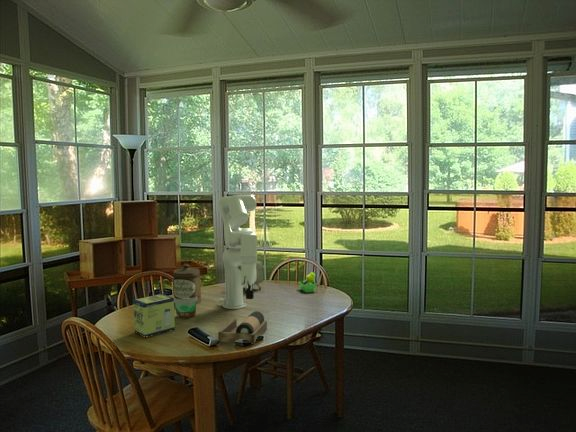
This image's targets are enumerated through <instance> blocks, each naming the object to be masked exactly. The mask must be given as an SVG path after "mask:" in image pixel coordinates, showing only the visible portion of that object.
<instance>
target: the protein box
mask: <svg viewBox="0 0 576 432" xmlns="http://www.w3.org/2000/svg"><path fill="white" fill-rule="evenodd" d="M132 306H133V307H132V308H133V310H132V311H133V328H134V331H135V332H137V333H139V334H141V335H143V336H145V337H146V336H151V335H155V334H158V333H162V334H164V333H163V332H166V333H168V332H167V331H170V330H173V331H176V327H175V326H176V322H175V321H176V320H175V303H174V297H173V296H172V297H171V296H169V295H167V294H163V293H160V294H156V295H151V296H150V295H149V296H146V297H141V298H136V299H132ZM170 332H171V331H170ZM158 335H159V334H158ZM155 336H156V335H155ZM151 337H152V336H151Z"/></svg>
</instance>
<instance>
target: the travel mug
mask: <svg viewBox="0 0 576 432" xmlns="http://www.w3.org/2000/svg"><path fill="white" fill-rule="evenodd" d="M263 321H265V317H264V314H263V313H262V312H260V311H257V310H256V311H253V312H252V313H250V314H249V315H248V316H246V317H245V319H243V321H241V322H240V324H239V325H238V327H237V329H236V333H245V334H252V333H253V332H254V331H255V330H256V329H257V328H258V327H259V326H260V325H261V324H262V323H263Z"/></svg>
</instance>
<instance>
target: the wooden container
mask: <svg viewBox="0 0 576 432" xmlns="http://www.w3.org/2000/svg"><path fill="white" fill-rule="evenodd" d="M172 274H173V298H176V299H181V298H194V297H196V296H197V298H198V301H197V302H196V305H197V304H200V303H201V302H202V292H201V291H202V288H201V272H200V269H198V268H194V267H190V264H189V263H184V264H183V265H182V268H180V269H175V270H173V272H172Z"/></svg>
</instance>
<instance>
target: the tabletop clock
mask: <svg viewBox="0 0 576 432" xmlns="http://www.w3.org/2000/svg"><path fill="white" fill-rule="evenodd" d="M238 269H239V270H240V271H241V266H238ZM264 269H265V268H264V264H263V262H262V261H260V260H257V263H256V273H257V278H256V282H254V286H255V285H256V286H257V287H258V290H261V289H262V287H261V286H260V285H259V284H261V283H264V278H265V277H264V276H265V270H264Z"/></svg>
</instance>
